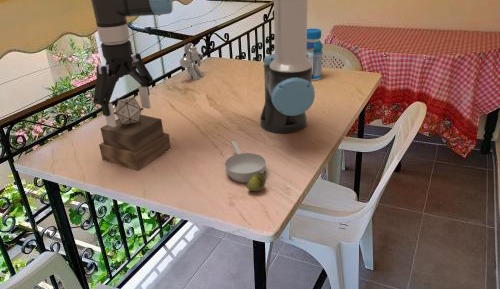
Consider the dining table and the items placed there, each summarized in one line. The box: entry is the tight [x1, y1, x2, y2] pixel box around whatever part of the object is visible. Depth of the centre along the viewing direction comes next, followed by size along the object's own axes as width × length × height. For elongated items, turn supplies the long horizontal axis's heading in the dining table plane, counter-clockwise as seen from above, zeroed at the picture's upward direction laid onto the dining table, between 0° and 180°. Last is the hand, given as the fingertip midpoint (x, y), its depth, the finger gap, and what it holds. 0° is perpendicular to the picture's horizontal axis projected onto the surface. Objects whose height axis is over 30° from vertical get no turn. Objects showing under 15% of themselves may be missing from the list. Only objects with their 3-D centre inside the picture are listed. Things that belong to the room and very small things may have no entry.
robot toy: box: [179, 42, 204, 81], centre depth 181 cm, size 15×6×15 cm, turn 158°
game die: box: [114, 94, 144, 127], centre depth 118 cm, size 9×8×10 cm
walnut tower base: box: [98, 114, 172, 171], centre depth 123 cm, size 14×14×10 cm
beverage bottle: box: [306, 28, 324, 82], centre depth 174 cm, size 8×8×20 cm
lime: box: [246, 172, 266, 192], centre depth 104 cm, size 4×5×5 cm
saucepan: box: [224, 140, 267, 183], centre depth 115 cm, size 11×18×4 cm, turn 16°
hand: (129, 116), depth 119 cm, fingers open, 13 cm apart
